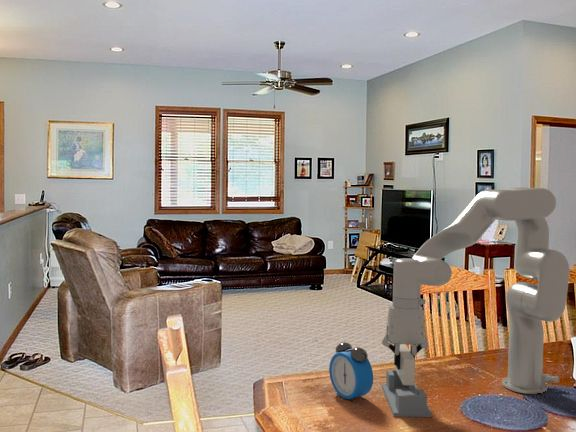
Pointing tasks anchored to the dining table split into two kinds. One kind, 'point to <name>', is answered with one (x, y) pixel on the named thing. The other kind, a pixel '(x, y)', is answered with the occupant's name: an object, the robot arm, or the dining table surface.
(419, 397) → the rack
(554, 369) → the dining table surface
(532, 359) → the robot arm
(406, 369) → the light grey rectangular block
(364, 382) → the alarm clock
